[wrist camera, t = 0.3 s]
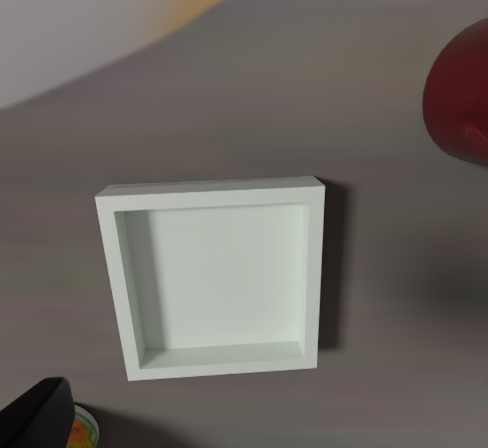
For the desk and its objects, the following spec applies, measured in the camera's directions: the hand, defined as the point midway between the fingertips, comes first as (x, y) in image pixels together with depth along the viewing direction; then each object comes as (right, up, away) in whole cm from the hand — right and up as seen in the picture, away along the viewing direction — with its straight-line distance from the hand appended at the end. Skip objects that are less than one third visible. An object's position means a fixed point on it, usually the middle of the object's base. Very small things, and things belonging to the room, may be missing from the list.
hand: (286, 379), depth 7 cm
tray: (-2, 0, +15) cm, 15 cm away
